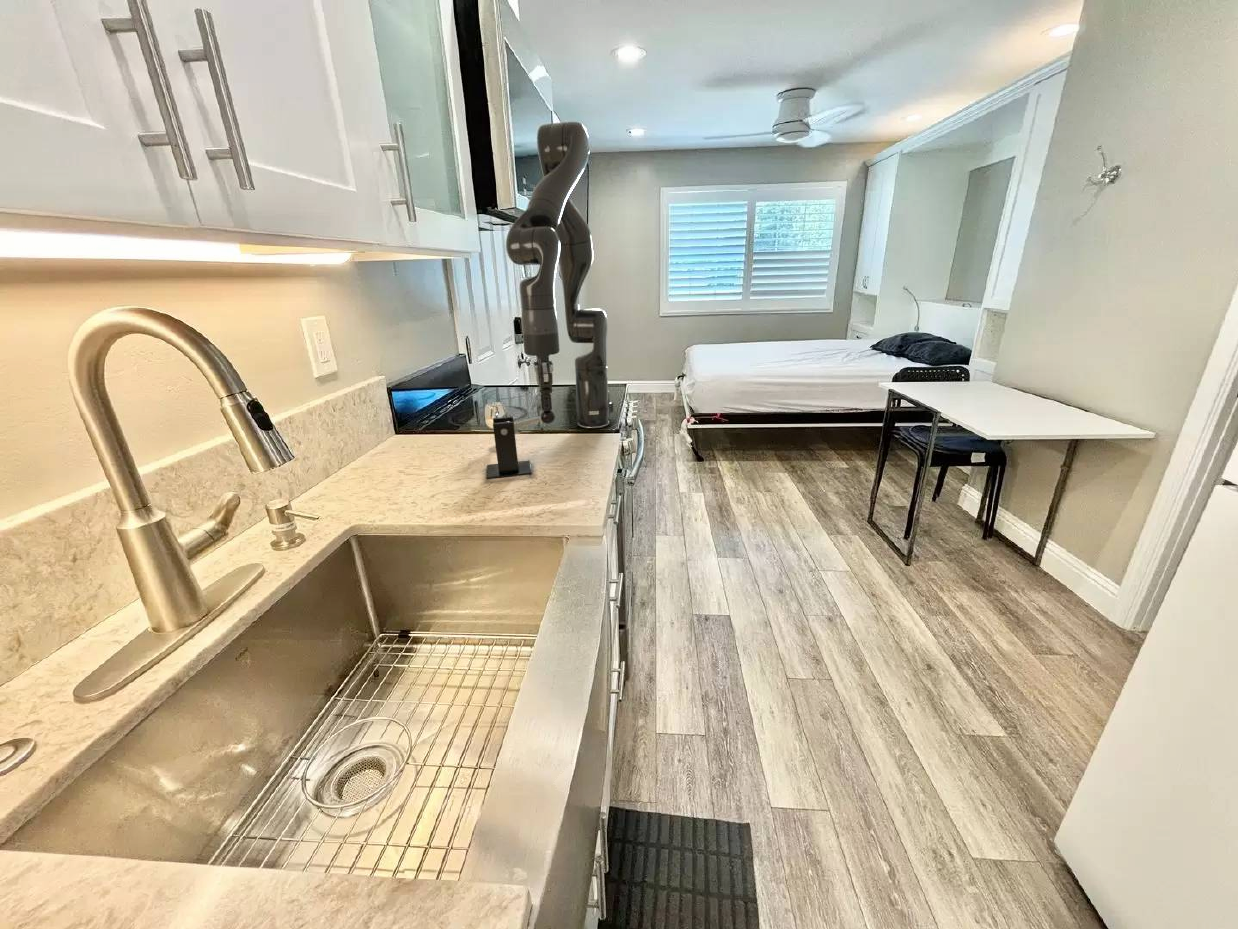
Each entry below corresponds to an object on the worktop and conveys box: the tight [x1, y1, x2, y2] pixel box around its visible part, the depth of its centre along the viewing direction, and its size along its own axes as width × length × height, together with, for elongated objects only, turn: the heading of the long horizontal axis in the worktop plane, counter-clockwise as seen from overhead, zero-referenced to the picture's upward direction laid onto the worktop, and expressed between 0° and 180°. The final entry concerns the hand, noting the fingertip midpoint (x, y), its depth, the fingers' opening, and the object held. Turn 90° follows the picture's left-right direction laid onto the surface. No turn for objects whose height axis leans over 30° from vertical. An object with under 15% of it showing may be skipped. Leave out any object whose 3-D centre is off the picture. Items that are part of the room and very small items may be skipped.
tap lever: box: [500, 410, 556, 429], centre depth 110 cm, size 13×3×3 cm, turn 103°
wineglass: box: [483, 401, 508, 430], centre depth 127 cm, size 6×6×12 cm
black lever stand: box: [485, 416, 533, 480], centre depth 111 cm, size 10×8×13 cm
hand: (546, 410), depth 110 cm, fingers closed
